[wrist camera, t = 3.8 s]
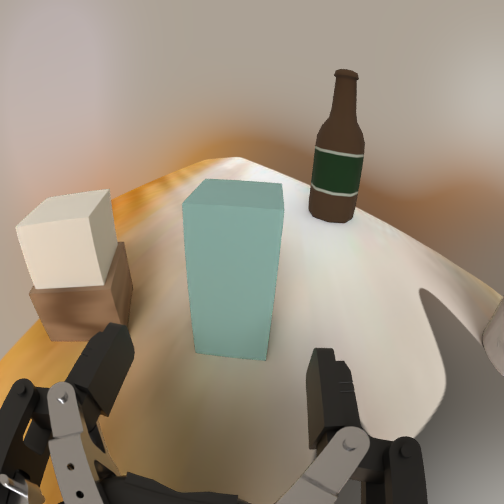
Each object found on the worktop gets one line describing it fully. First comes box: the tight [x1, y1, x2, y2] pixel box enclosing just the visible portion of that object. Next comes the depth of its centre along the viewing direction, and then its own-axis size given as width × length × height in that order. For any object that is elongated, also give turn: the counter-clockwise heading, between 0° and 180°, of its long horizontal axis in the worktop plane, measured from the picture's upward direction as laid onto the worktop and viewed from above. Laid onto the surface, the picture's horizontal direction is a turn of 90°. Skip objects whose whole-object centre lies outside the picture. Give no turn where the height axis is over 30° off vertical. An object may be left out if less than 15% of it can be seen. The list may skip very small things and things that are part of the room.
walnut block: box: [29, 242, 133, 341], centre depth 20 cm, size 7×7×5 cm
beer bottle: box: [309, 69, 365, 223], centre depth 39 cm, size 8×8×24 cm
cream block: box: [15, 189, 118, 289], centre depth 17 cm, size 6×6×5 cm
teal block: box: [182, 179, 284, 361], centre depth 18 cm, size 5×5×11 cm
